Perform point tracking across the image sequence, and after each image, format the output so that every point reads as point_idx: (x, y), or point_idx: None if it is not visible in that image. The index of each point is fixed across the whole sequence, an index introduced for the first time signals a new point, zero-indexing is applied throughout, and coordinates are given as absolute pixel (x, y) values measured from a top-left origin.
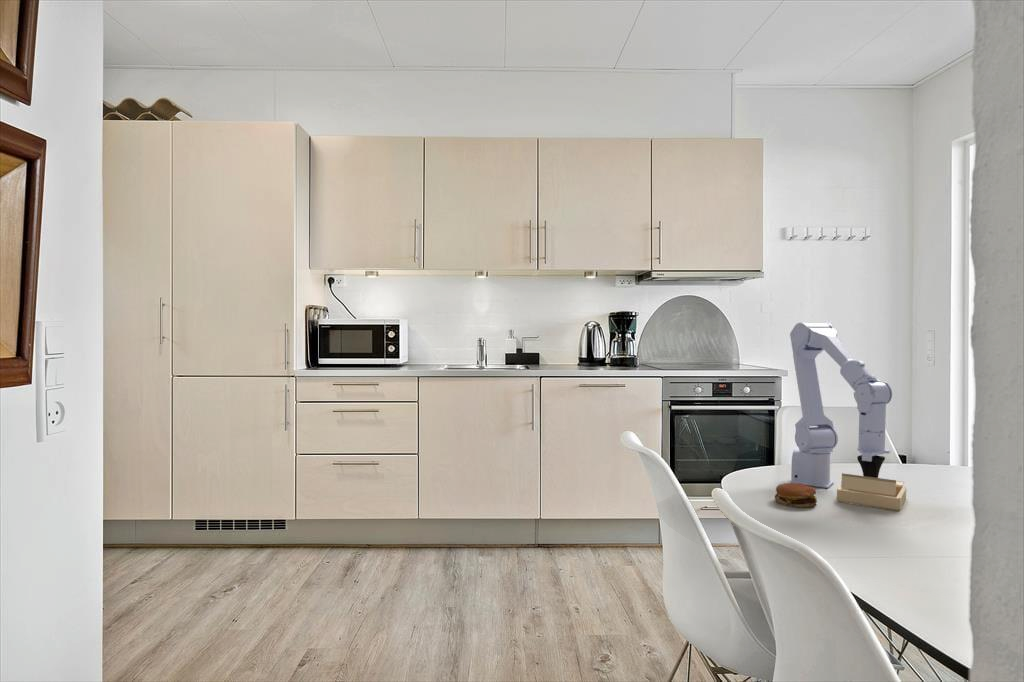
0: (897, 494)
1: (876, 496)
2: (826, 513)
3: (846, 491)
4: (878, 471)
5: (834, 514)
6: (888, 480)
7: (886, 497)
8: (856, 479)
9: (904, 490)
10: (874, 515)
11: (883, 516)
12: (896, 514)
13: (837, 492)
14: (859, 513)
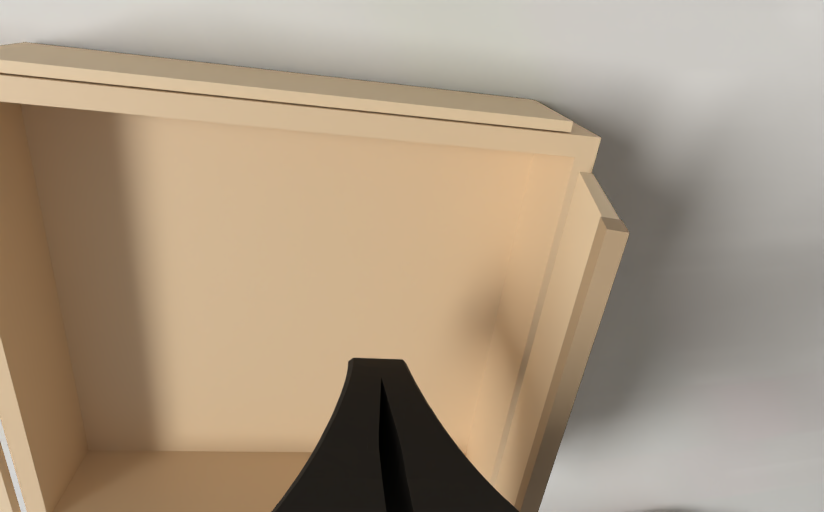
0: (15, 129)
1: None
2: (759, 456)
3: None
4: (437, 466)
5: (769, 427)
6: (601, 307)
7: None
8: None
9: (138, 77)
10: (733, 254)
11: (743, 203)
12: (659, 122)
13: None
14: (710, 331)
